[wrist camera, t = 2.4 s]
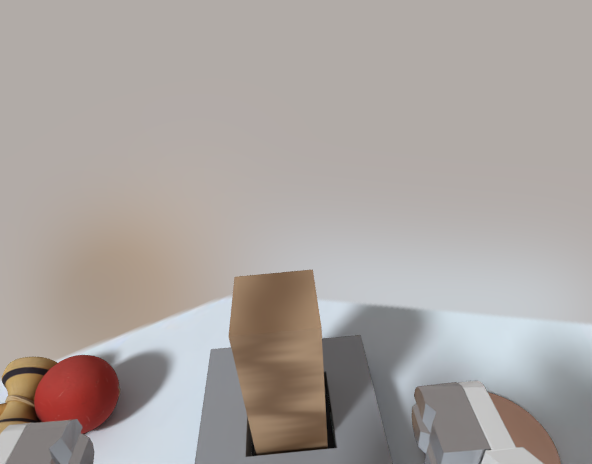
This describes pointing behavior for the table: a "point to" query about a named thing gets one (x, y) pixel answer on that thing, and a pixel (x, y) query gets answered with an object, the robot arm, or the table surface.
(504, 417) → the terracotta coaster
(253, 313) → the walnut block
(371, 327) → the table surface
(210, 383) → the pocket holder
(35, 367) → the kendama
